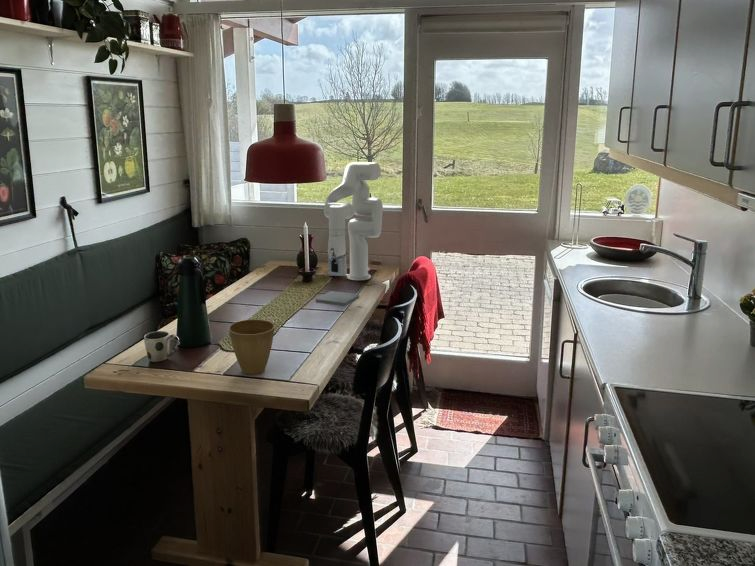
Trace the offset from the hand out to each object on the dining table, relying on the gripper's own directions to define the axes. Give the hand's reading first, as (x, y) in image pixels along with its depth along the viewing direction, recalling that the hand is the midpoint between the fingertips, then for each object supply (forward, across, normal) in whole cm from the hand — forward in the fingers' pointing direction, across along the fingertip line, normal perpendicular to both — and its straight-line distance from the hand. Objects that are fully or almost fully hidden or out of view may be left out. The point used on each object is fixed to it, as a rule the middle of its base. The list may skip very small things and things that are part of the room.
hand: (337, 270), depth 293 cm
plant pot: (+14, +90, +14) cm, 92 cm away
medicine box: (+3, 0, 0) cm, 3 cm away
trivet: (+13, +3, +2) cm, 14 cm away
